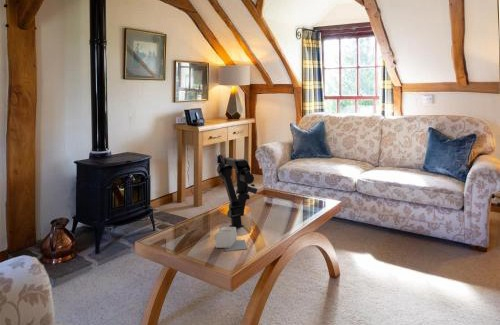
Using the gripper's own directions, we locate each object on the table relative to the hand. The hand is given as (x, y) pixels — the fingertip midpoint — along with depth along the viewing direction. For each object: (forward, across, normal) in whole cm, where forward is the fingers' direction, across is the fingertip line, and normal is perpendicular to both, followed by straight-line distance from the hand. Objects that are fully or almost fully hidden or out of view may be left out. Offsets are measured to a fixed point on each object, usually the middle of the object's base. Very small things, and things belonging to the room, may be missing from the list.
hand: (243, 208), depth 225 cm
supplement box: (+9, -13, +9) cm, 18 cm away
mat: (+13, -22, +7) cm, 27 cm away
